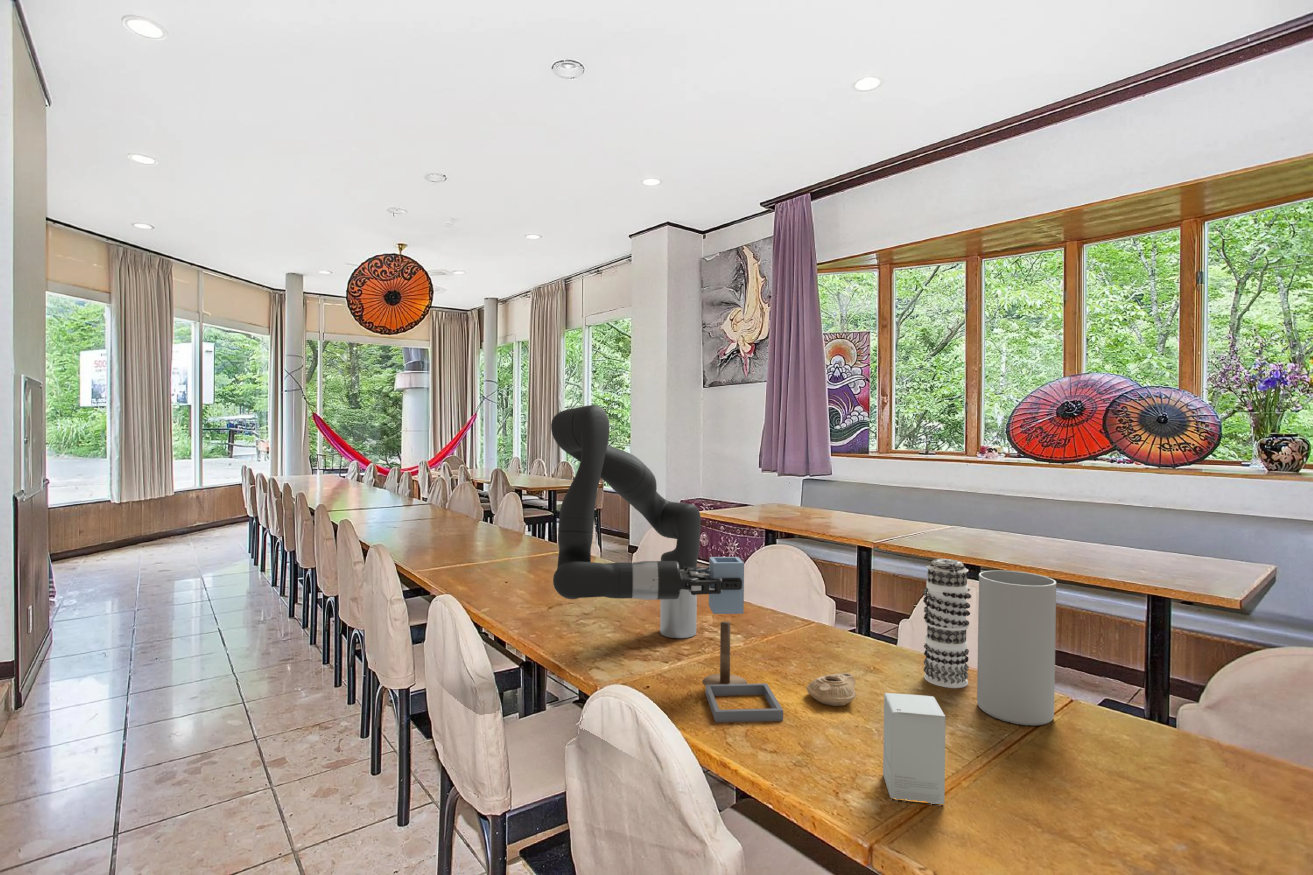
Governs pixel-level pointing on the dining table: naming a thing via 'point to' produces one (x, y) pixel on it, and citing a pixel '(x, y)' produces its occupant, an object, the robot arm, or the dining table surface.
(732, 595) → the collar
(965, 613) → the decorative candle
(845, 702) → the pottery oil lamp
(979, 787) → the dining table surface
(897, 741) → the supplement box
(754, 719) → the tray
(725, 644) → the box
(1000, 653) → the cylinder vase
